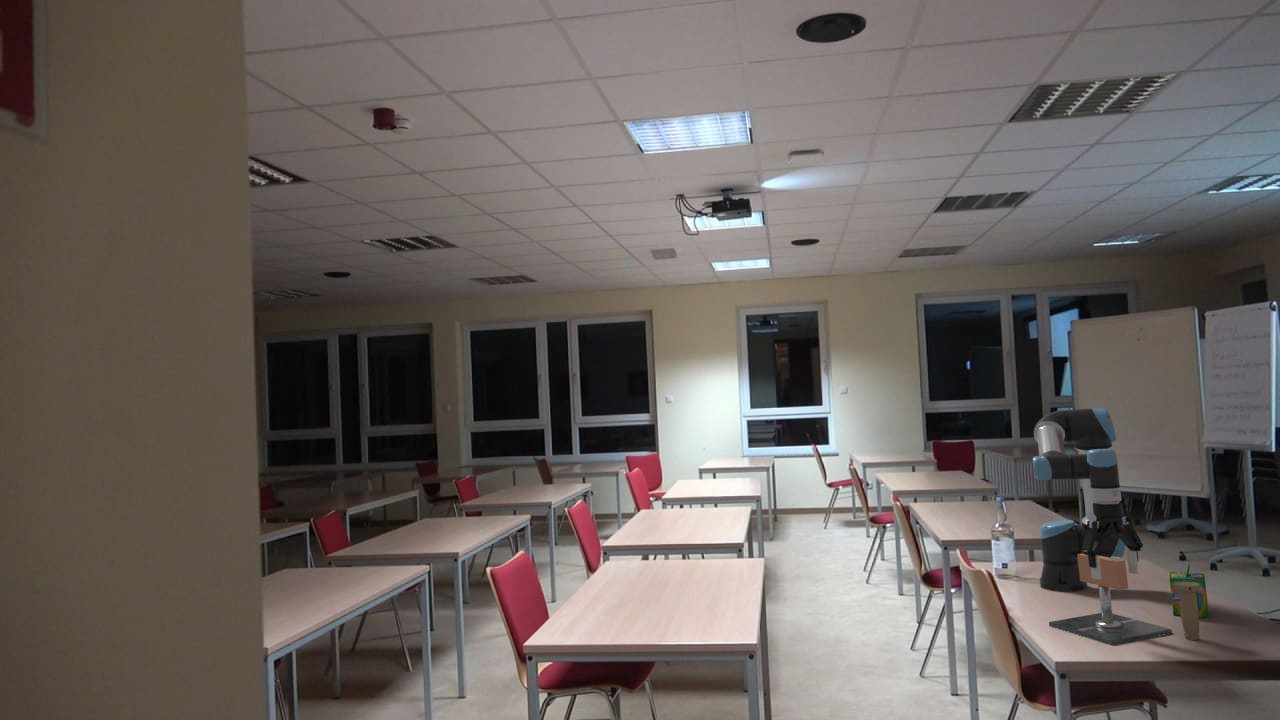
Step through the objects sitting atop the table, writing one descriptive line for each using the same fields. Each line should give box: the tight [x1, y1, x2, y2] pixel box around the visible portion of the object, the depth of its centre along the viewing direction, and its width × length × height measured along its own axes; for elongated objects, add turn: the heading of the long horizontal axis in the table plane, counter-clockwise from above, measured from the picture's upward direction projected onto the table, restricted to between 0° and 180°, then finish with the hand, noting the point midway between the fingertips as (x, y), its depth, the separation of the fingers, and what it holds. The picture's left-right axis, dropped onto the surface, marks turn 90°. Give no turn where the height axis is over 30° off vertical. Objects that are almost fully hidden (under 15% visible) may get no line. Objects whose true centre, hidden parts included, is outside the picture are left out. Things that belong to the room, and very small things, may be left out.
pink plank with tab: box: [1077, 554, 1129, 591], centre depth 229 cm, size 3×14×9 cm, turn 16°
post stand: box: [1048, 585, 1173, 646], centre depth 228 cm, size 22×22×13 cm
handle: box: [1172, 582, 1200, 641], centre depth 215 cm, size 5×6×15 cm
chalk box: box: [1168, 563, 1210, 618], centre depth 238 cm, size 9×9×15 cm
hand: (1115, 576), depth 224 cm, fingers open, 13 cm apart
